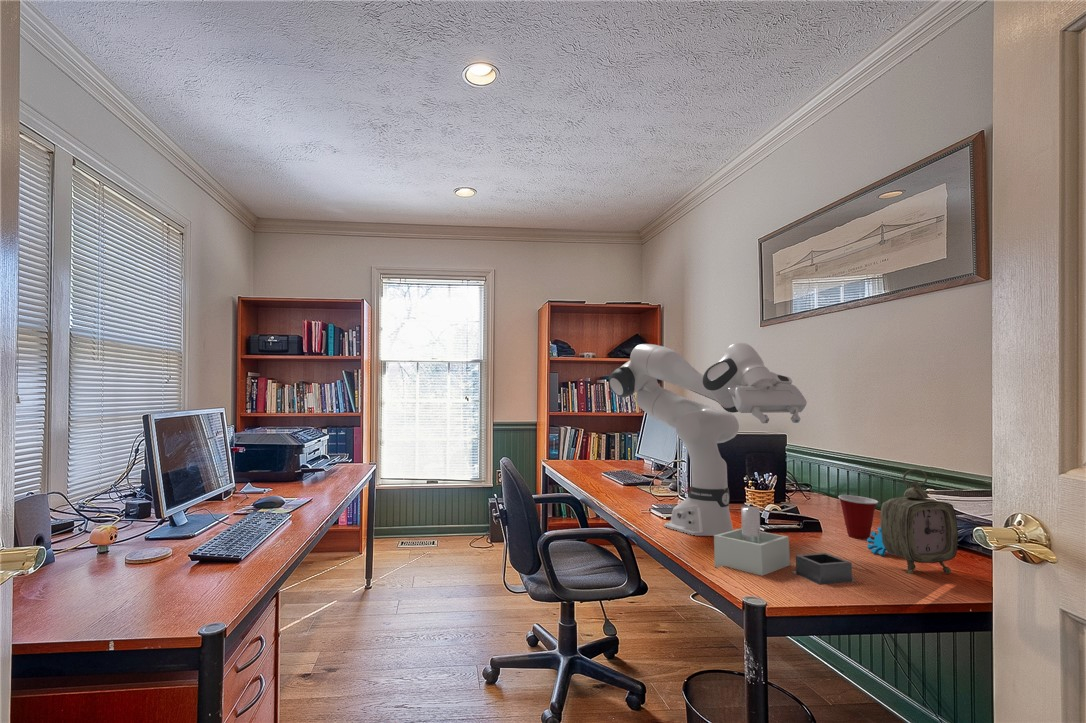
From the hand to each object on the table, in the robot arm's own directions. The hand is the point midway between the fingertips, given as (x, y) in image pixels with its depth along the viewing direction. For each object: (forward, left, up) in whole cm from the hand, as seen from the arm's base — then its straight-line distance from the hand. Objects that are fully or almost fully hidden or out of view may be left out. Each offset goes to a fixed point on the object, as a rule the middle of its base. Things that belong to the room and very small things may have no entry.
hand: (781, 421), depth 151 cm
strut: (-2, -13, -36) cm, 38 cm away
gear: (+15, +27, -37) cm, 48 cm away
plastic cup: (+2, +41, -37) cm, 55 cm away
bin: (-2, -13, -37) cm, 39 cm away
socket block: (+14, -9, -37) cm, 40 cm away
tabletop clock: (+26, +15, -37) cm, 47 cm away
